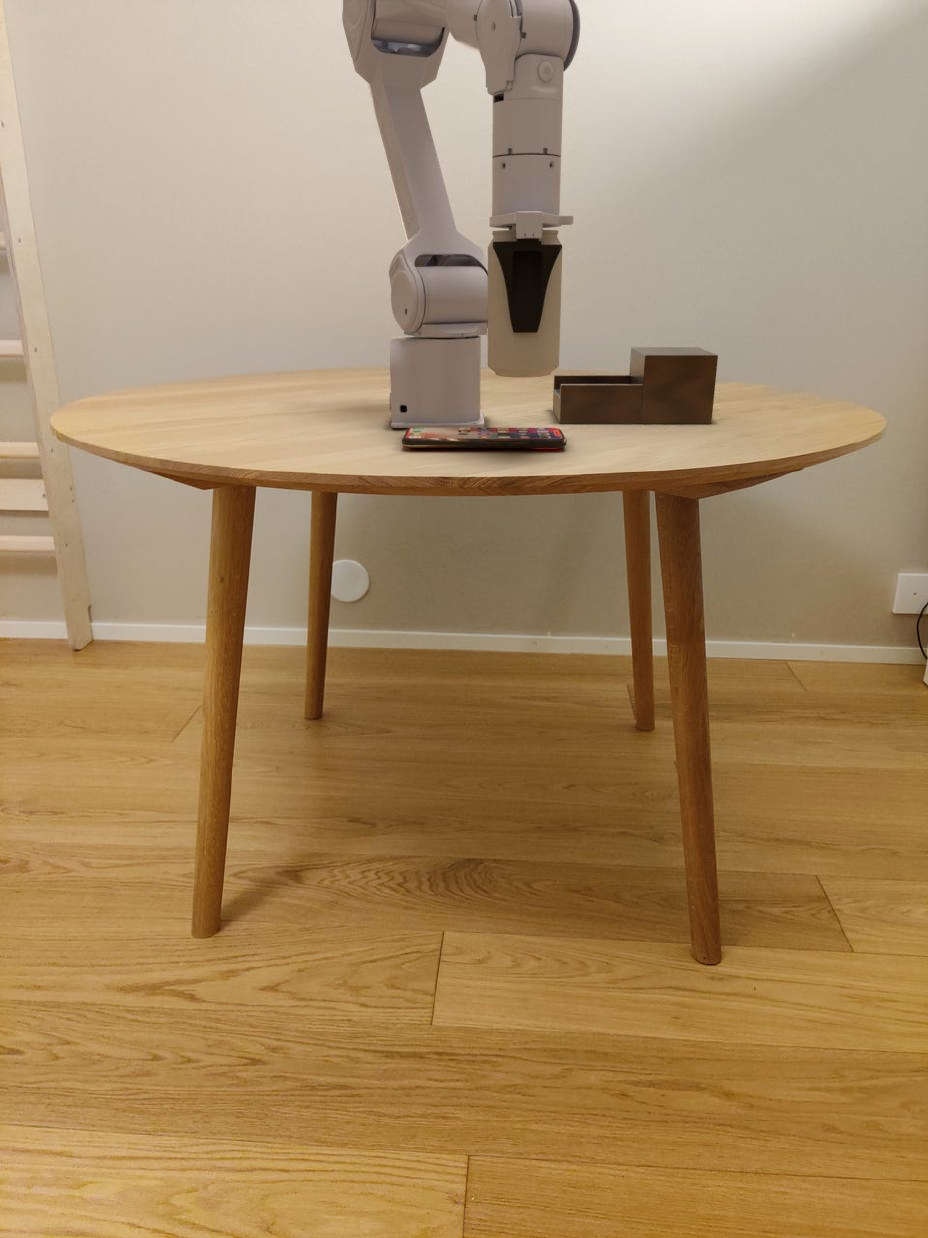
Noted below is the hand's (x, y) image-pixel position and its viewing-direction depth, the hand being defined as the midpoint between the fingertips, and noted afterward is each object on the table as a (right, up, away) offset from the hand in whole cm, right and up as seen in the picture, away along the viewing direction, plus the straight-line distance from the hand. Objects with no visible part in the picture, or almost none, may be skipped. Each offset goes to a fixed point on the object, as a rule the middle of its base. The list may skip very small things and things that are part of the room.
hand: (523, 330), depth 81 cm
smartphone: (-3, -9, +5) cm, 11 cm away
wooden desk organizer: (+13, -3, +20) cm, 24 cm away
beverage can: (0, -4, +1) cm, 4 cm away
